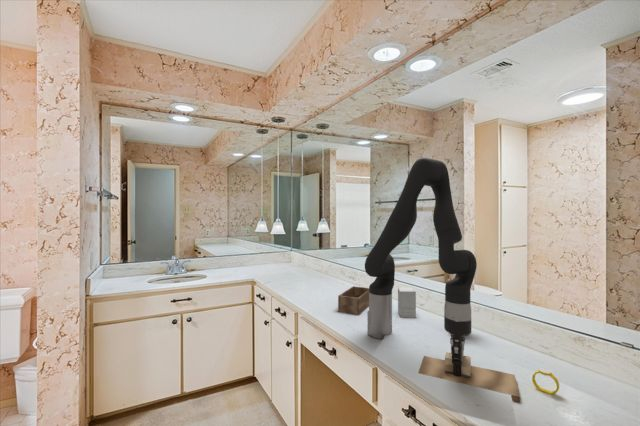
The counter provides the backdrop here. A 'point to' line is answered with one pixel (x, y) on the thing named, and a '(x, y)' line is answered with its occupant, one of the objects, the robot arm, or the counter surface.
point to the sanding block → (464, 367)
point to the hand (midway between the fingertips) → (457, 371)
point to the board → (474, 377)
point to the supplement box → (407, 302)
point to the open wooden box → (353, 300)
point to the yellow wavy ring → (547, 373)
